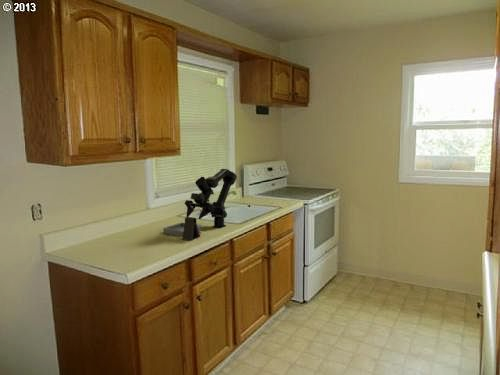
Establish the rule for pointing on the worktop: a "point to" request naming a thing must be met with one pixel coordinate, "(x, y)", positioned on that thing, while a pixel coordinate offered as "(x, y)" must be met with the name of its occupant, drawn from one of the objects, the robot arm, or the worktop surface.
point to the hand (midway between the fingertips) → (192, 217)
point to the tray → (177, 229)
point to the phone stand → (190, 229)
